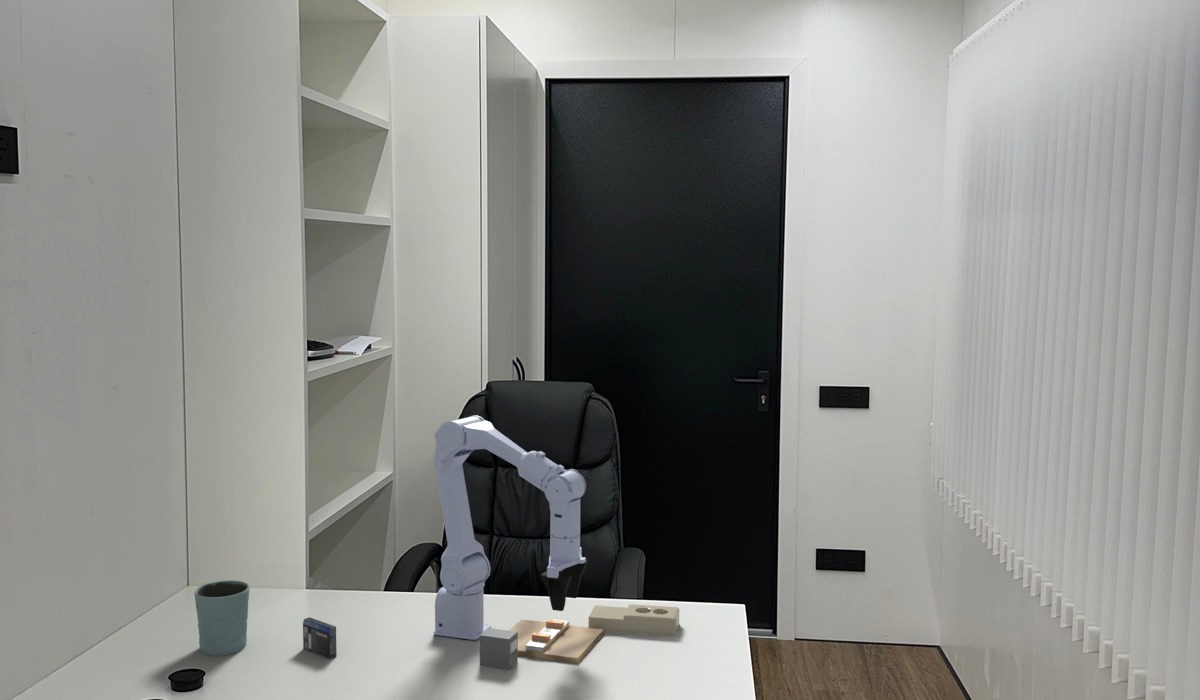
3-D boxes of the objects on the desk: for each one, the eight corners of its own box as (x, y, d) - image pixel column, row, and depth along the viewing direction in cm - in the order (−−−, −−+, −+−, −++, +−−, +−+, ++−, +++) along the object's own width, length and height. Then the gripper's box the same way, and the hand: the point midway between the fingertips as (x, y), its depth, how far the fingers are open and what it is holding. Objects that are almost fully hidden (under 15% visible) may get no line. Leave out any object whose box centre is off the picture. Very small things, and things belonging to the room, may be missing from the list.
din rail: (525, 650, 197) (525, 640, 197) (553, 624, 211) (553, 614, 211) (542, 652, 196) (542, 642, 195) (569, 626, 210) (569, 616, 210)
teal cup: (230, 634, 207) (229, 576, 206) (262, 645, 201) (260, 586, 200) (185, 650, 199) (183, 590, 197) (216, 662, 193) (214, 600, 192)
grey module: (479, 666, 192) (479, 635, 191) (488, 658, 195) (488, 627, 195) (510, 670, 190) (509, 639, 189) (518, 662, 194) (518, 631, 193)
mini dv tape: (303, 649, 200) (302, 619, 199) (309, 646, 201) (309, 617, 200) (330, 659, 195) (329, 628, 194) (336, 656, 196) (336, 626, 195)
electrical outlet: (595, 601, 217) (679, 606, 214) (595, 619, 218) (679, 625, 214) (588, 612, 210) (675, 618, 207) (588, 631, 210) (675, 638, 207)
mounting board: (490, 651, 199) (490, 646, 198) (521, 623, 214) (521, 619, 214) (577, 663, 193) (577, 658, 193) (603, 634, 208) (603, 629, 208)
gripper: (572, 546, 188) (572, 618, 189) (596, 526, 201) (595, 594, 203) (536, 542, 190) (536, 614, 191) (562, 523, 204) (562, 590, 205)
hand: (564, 603), depth 197 cm, fingers open, 7 cm apart
